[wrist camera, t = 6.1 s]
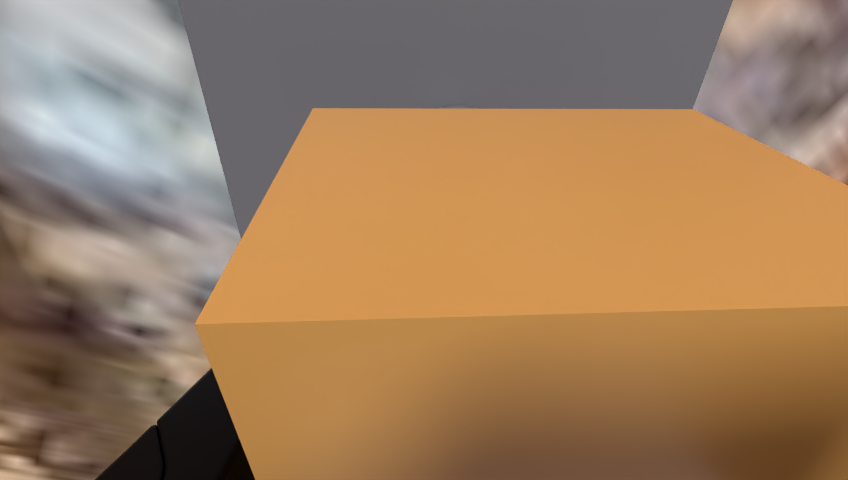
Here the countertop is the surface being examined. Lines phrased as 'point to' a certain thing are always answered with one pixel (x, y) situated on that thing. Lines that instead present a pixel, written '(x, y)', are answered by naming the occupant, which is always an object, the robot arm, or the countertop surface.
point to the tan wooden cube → (537, 302)
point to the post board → (431, 63)
